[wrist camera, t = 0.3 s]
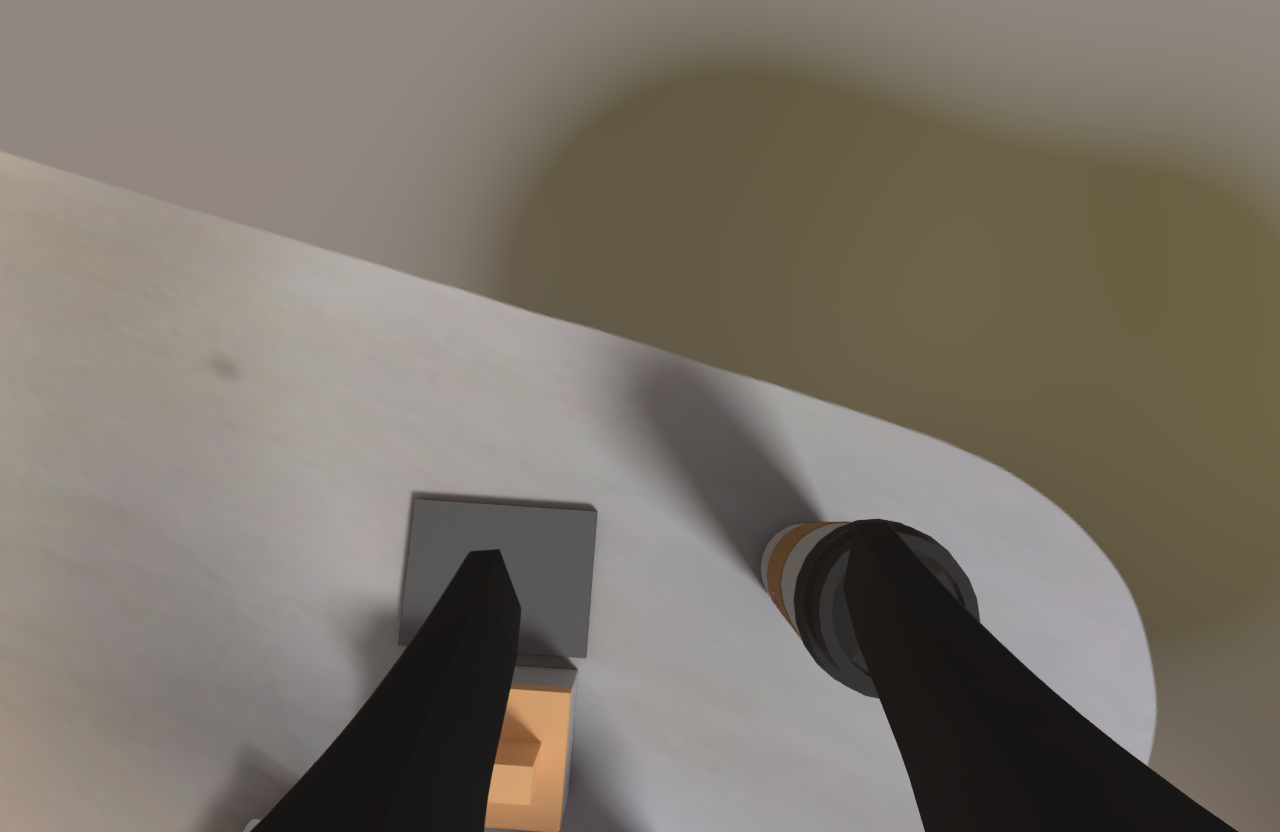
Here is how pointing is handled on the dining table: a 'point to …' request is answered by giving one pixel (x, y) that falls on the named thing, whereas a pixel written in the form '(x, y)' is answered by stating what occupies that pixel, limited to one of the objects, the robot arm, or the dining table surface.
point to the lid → (531, 760)
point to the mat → (508, 567)
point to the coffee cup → (840, 590)
